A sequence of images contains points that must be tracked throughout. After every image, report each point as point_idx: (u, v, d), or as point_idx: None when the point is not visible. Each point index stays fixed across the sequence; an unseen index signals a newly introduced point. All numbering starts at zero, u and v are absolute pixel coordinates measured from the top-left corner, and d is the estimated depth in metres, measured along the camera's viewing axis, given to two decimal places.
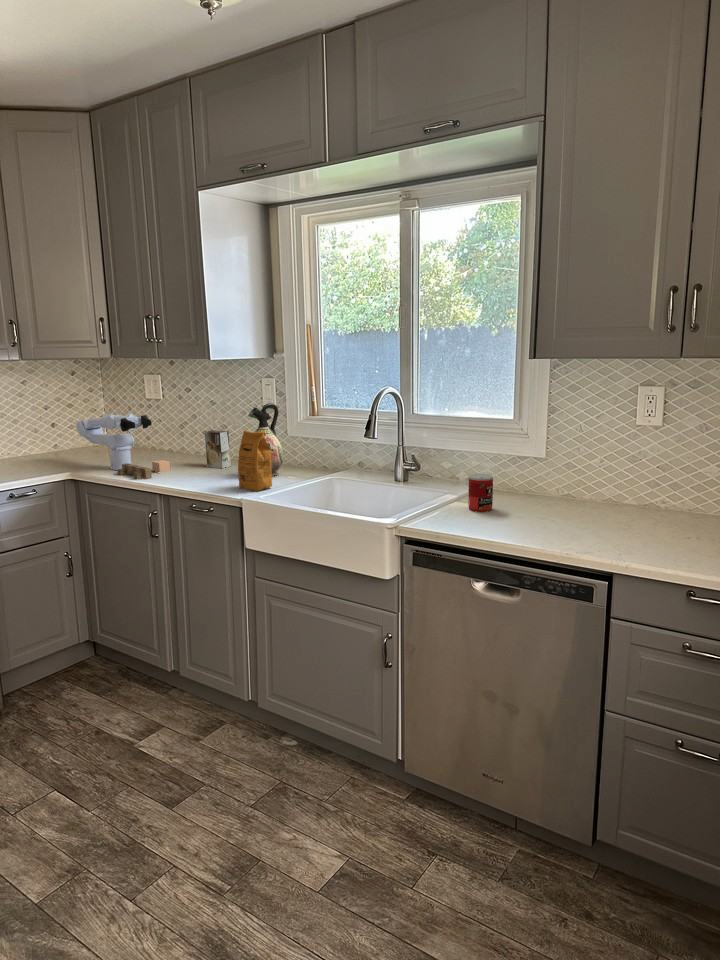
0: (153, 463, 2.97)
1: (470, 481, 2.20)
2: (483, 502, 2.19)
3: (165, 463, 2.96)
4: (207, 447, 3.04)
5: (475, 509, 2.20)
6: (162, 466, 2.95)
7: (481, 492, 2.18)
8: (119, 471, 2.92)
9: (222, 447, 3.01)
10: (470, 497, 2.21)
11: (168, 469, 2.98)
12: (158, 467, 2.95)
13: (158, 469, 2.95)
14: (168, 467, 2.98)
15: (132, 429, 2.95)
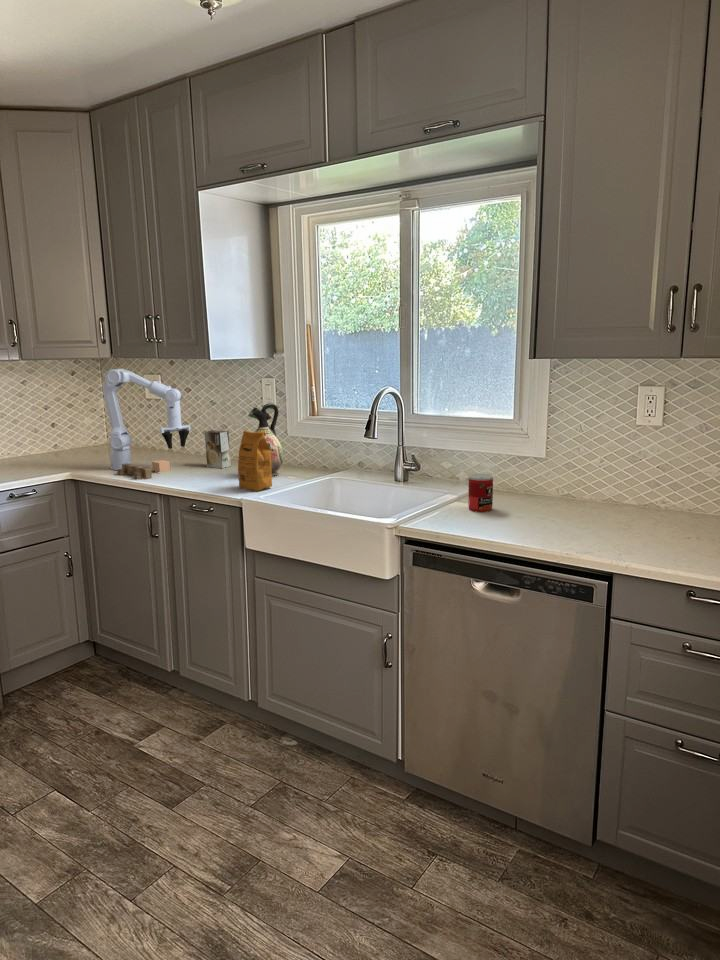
0: (153, 463, 2.98)
1: (470, 481, 2.20)
2: (483, 502, 2.19)
3: (165, 463, 2.96)
4: (207, 447, 3.04)
5: (475, 509, 2.20)
6: (162, 466, 2.95)
7: (481, 492, 2.18)
8: (119, 471, 2.92)
9: (222, 447, 3.01)
10: (470, 497, 2.21)
11: (168, 469, 2.98)
12: (158, 467, 2.95)
13: (158, 469, 2.95)
14: (168, 467, 2.98)
15: None
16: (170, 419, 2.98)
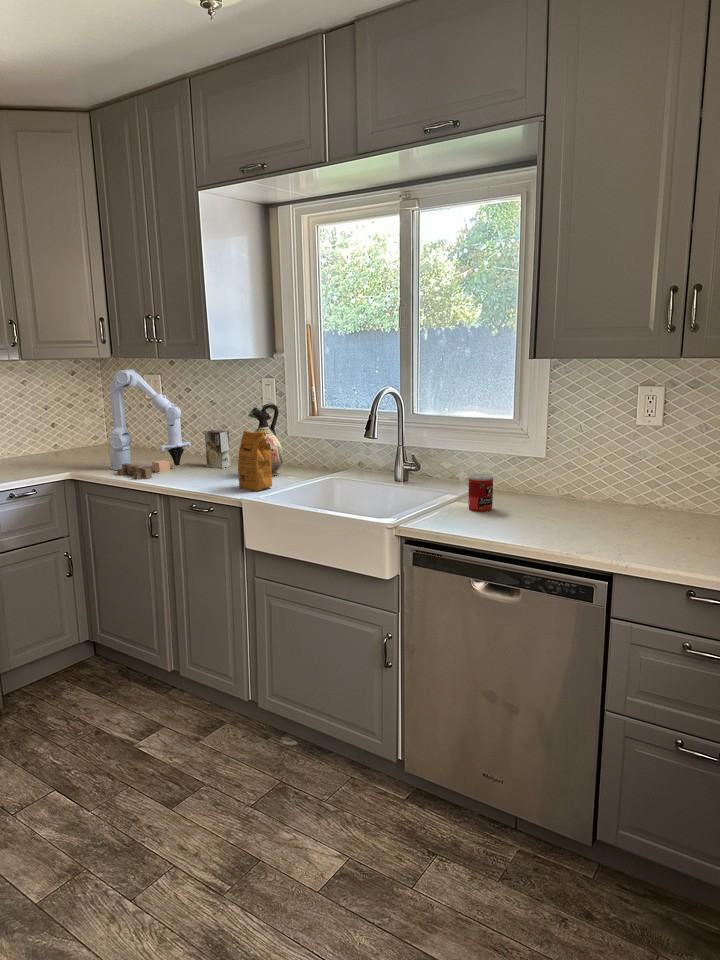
0: (153, 463, 2.98)
1: (470, 481, 2.20)
2: (483, 502, 2.19)
3: (165, 463, 2.96)
4: (207, 447, 3.04)
5: (475, 509, 2.20)
6: (162, 466, 2.95)
7: (481, 492, 2.18)
8: (119, 471, 2.92)
9: (222, 447, 3.01)
10: (470, 497, 2.21)
11: (168, 469, 2.98)
12: (158, 467, 2.95)
13: (158, 469, 2.95)
14: (168, 467, 2.98)
15: None
16: (170, 437, 2.99)
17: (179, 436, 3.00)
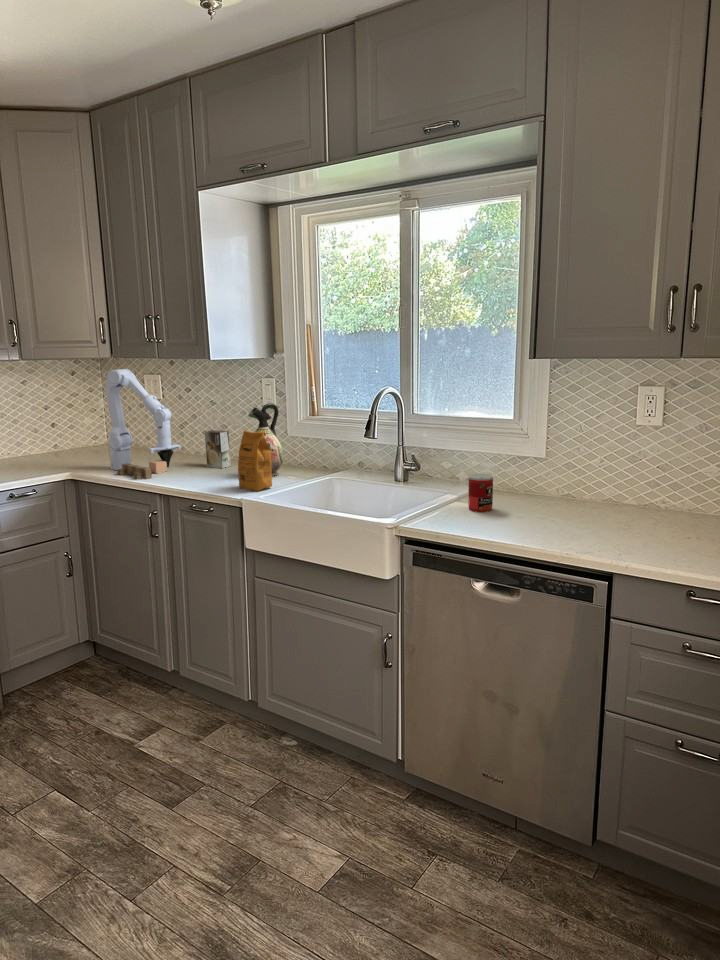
0: (150, 463, 2.97)
1: (470, 481, 2.20)
2: (483, 502, 2.19)
3: (162, 463, 2.95)
4: (207, 447, 3.04)
5: (475, 509, 2.20)
6: (159, 466, 2.94)
7: (481, 492, 2.18)
8: (119, 471, 2.92)
9: (222, 447, 3.01)
10: (470, 497, 2.21)
11: (165, 469, 2.97)
12: (155, 467, 2.94)
13: (155, 469, 2.94)
14: (165, 467, 2.96)
15: None
16: (160, 439, 2.95)
17: (168, 438, 2.96)
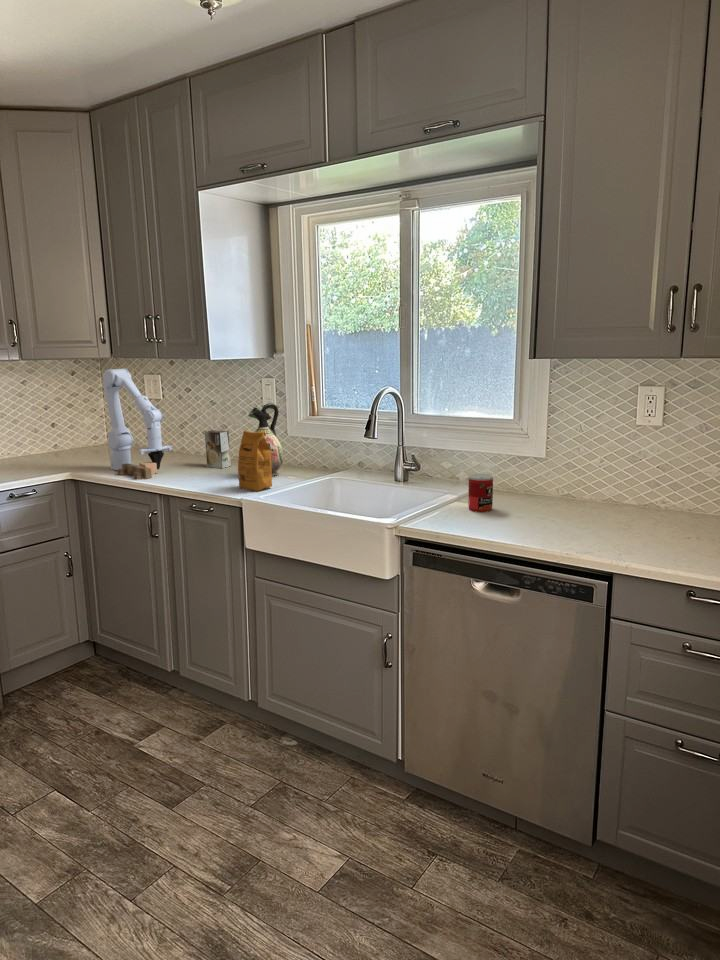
0: (140, 465, 2.93)
1: (470, 481, 2.20)
2: (483, 502, 2.19)
3: (152, 465, 2.92)
4: (207, 447, 3.04)
5: (475, 509, 2.20)
6: (148, 467, 2.91)
7: (481, 492, 2.18)
8: (119, 471, 2.92)
9: (222, 447, 3.01)
10: (470, 497, 2.21)
11: (155, 471, 2.93)
12: None
13: None
14: (155, 469, 2.93)
15: None
16: (150, 440, 2.92)
17: (159, 439, 2.93)
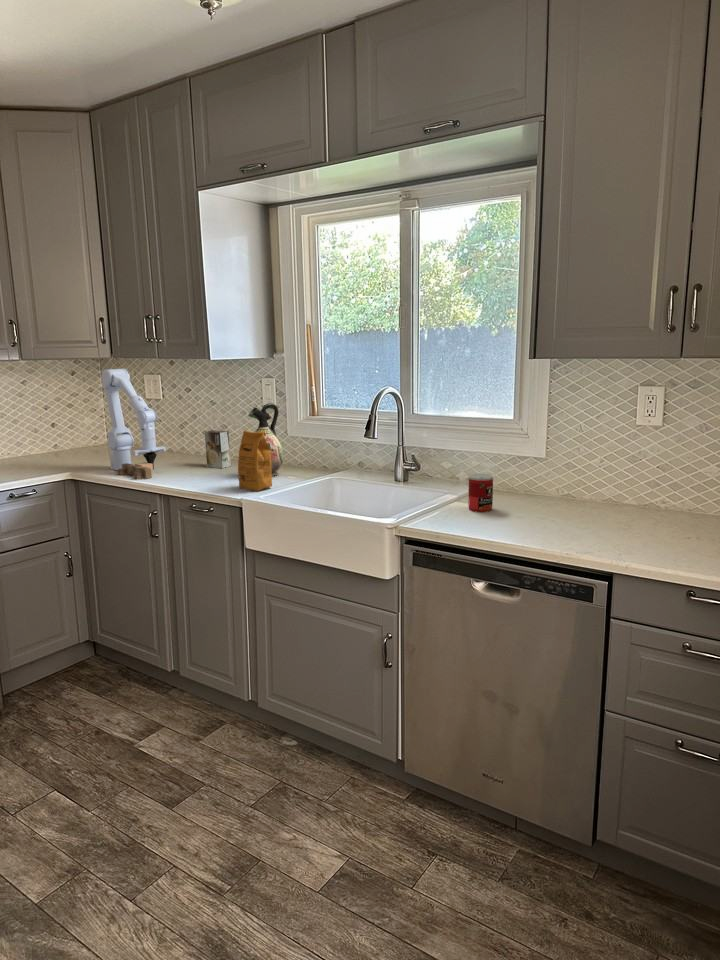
0: None
1: (470, 481, 2.20)
2: (483, 502, 2.19)
3: (148, 465, 2.91)
4: (207, 447, 3.04)
5: (475, 509, 2.20)
6: None
7: (481, 492, 2.18)
8: (119, 471, 2.92)
9: (222, 447, 3.01)
10: (470, 497, 2.21)
11: (151, 471, 2.92)
12: None
13: None
14: (151, 469, 2.92)
15: None
16: (144, 441, 2.90)
17: (153, 440, 2.91)
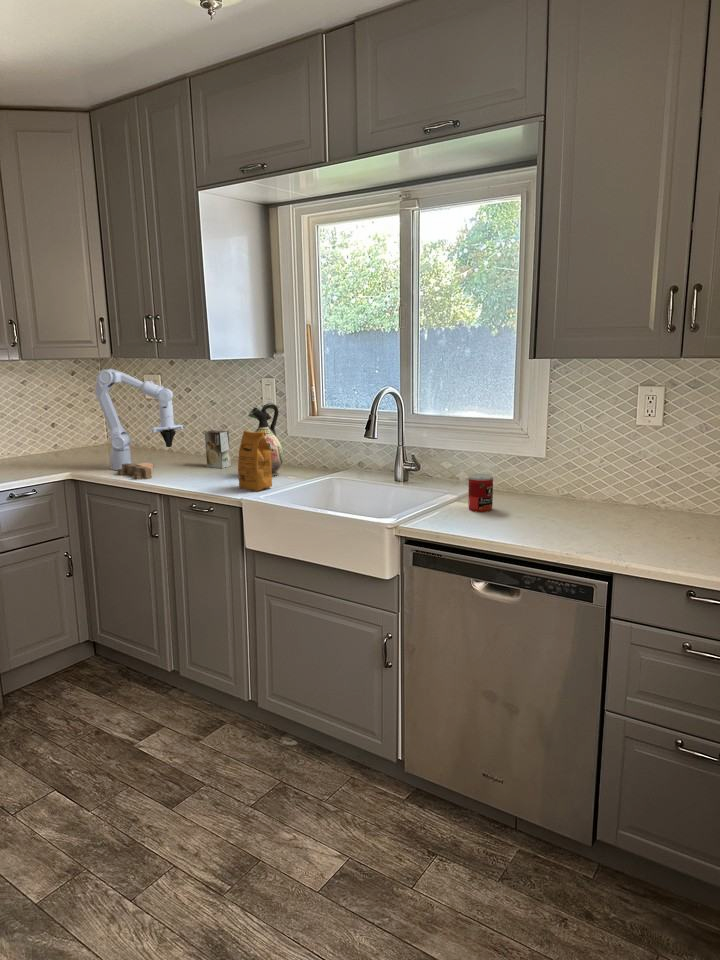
0: None
1: (470, 481, 2.20)
2: (483, 502, 2.19)
3: (148, 466, 2.91)
4: (207, 447, 3.04)
5: (475, 509, 2.20)
6: None
7: (481, 492, 2.18)
8: (119, 471, 2.92)
9: (222, 447, 3.01)
10: (470, 497, 2.21)
11: (151, 472, 2.92)
12: None
13: None
14: (151, 470, 2.92)
15: None
16: (162, 419, 3.00)
17: (171, 418, 3.01)
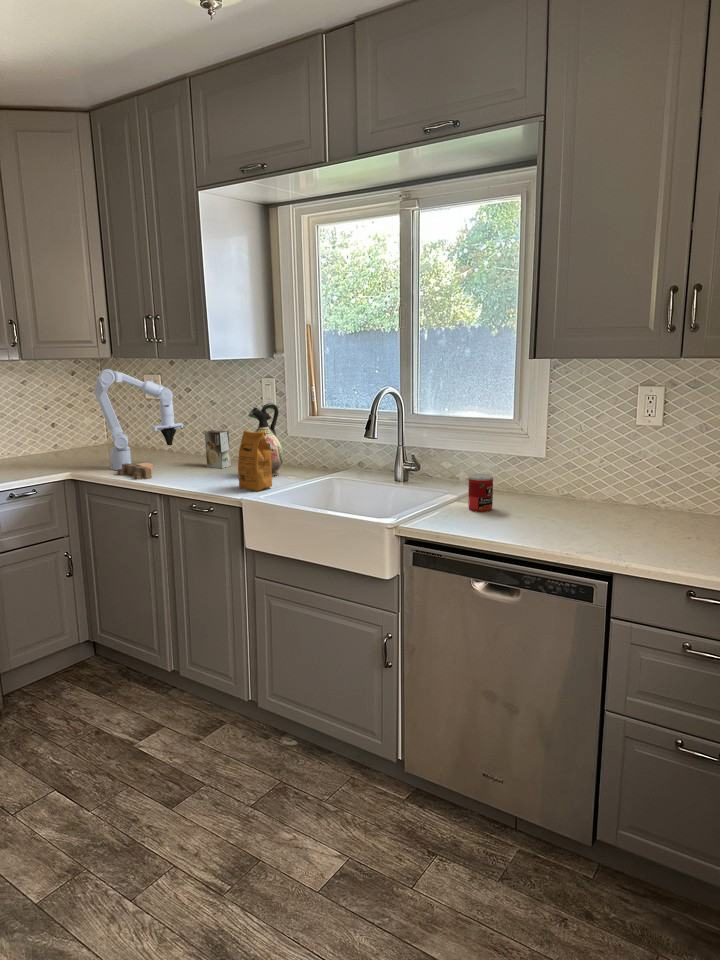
0: None
1: (470, 481, 2.20)
2: (483, 502, 2.19)
3: (148, 466, 2.91)
4: (207, 447, 3.04)
5: (475, 509, 2.20)
6: None
7: (481, 492, 2.18)
8: (119, 471, 2.92)
9: (222, 447, 3.01)
10: (470, 497, 2.21)
11: (151, 472, 2.92)
12: None
13: None
14: (151, 470, 2.92)
15: None
16: (163, 417, 3.05)
17: (171, 417, 3.06)
